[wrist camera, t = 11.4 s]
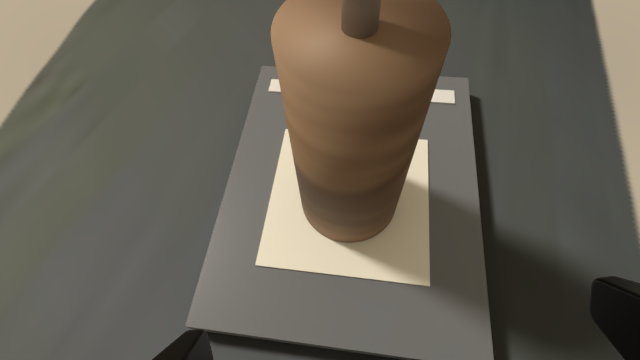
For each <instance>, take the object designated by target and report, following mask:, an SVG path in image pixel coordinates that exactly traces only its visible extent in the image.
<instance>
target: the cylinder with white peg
mask: <svg viewBox="0 0 640 360" xmlns="http://www.w3.org/2000/svg"><path fill="white" fill-rule="evenodd" d="M271 41H272V46H273V52H274V57H275V62H276V68H277V73H278V79H279V84H280V89H281V95H282V100H283V106H284V111H285V116H286V122H287V127H288V133H289V138H290V143H291V149H292V154H293V160H294V165H295V170H296V176H297V181H298V187H299V192H300V197H301V203H302V208H303V211H304V214H305V216H306V218H307V220H308V222H309V223H310V224H311V225H312V227H313V228H314V229H315V230H316V231H318V232H319V233H320V234H322V235H324V236H325V237H327V238H330V239H332V240H335V241H339V242H347V243H354V242H361V241H364V240H368V239H370V238H373V237H374V236H376V235H378V234H379V233H380V232H382V231H383V230H384V229H385V228H386V227H387V226H388V224H389V223H390V222H391V220H392V218H393V216H394V213H395V210H396V207H397V204H398V201H399V198H400V195H401V192H402V189H403V186H404V183H405V179H406V176H407V173H408V170H409V167H410V164H411V161H412V158H413V155H414V152H415V149H416V146H417V143H418V140H419V137H420V134H421V131H422V128H423V124H424V121H425V118H426V115H427V112H428V109H429V106H430V103H431V100H432V97H433V94H434V91H435V88H436V85H437V82H438V79H439V76H440V73H441V69H442V66H443V63H444V60H445V57H446V54H447V51H448V48H449V45H450V41H451V27H450V23H449V19H448V17H447V15H446V13H445V12H444V10H443V9H442V7H441V6H440V5H439V4H438V3H437V2H436V1H435V0H286V1H285V2H284V3H283V4H282V6H281V7H280V8H279V10H278V11H277V13H276V15H275V17H274V19H273V22H272V26H271Z"/></svg>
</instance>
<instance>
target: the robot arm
mask: <svg viewBox="0 0 640 360" xmlns="http://www.w3.org/2000/svg"><path fill="white" fill-rule="evenodd" d="M590 314H591V317H592V319H593V320H594V322H595V323H596V324H597V326H598V327H599V328H600V329H601V331H602V332H603V333H604V334H605V336H606V337H607V338H608V339H609V341H610V342H611V343H612V344H613V346H614V347H615V348H616V349H617V351H618V352H619V353H620V354H621V356H622V357H623V358H624V360H640V283H638V282H634V281H630V280H626V279H623V278H619V277H615V276H610V277H602V278H596V279H595V280H594V281H593V282H592V287H591V298H590ZM152 360H213V355H212V351H211V346H210V342H209V337H208V334H207V331H206V330H205V329H195V330H188V331H186V332H185V333H183V334H182V335H181V336H180V337H179V338H177V339H176V340H175V341H174V342H173V343H171V344H170V345H169V346H168V347H167V348H165V349H164V350H163V351H162V352H161V353H159V354H158V355H157V356H156V357H155V358H153V359H152Z"/></svg>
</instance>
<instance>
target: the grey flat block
mask: <svg viewBox="0 0 640 360" xmlns="http://www.w3.org/2000/svg"><path fill="white" fill-rule="evenodd" d="M185 326H186V327H188V328H191V329H194V330H195V329H205V330H206V331H207V332H213V333H220V334H227V335H234V336H241V337H248V338H255V339H262V340H269V341H277V342H284V343H291V344H298V345H305V346H312V347H319V348H326V349H333V350H340V351H347V352H354V353H361V354H368V355H375V356H382V357H389V358H396V359H403V360H494V357H493V346H492V335H491V324H490V313H489V303H488V292H487V281H486V270H485V259H484V248H483V237H482V226H481V215H480V205H479V194H478V183H477V172H476V161H475V150H474V139H473V128H472V117H471V106H470V96H469V85H468V78H458V77H441V76H439V79H438V82H437V85H436V88H435V91H434V94H433V97H432V100H431V103H430V106H429V109H428V112H427V115H426V118H425V121H424V124H423V128H422V131H421V134H420V137H419V140H418V143H417V146H416V149H415V152H414V155H413V158H412V161H411V164H410V167H409V170H408V173H407V176H406V179H405V183H404V186H403V189H402V192H401V195H400V198H399V201H398V204H397V207H396V210H395V213H394V216H393V218H392V220H391V222H390V223H389V224H388V226H387V227H386V228H385V229H384V230H383V231H382V232H380V233H379V234H378V235H376V236H374V237H373V238H370V239H368V240H364V241H361V242H354V243H347V242H339V241H335V240H332V239H330V238H327V237H325V236H324V235H322V234H320V233H319V232H318V231H316V230H315V229H314V228H313V227H312V225H311V224H310V223H309V222H308V220H307V218H306V216H305V214H304V211H303V208H302V203H301V197H300V192H299V187H298V181H297V176H296V170H295V165H294V160H293V154H292V149H291V143H290V138H289V133H288V127H287V122H286V116H285V111H284V106H283V100H282V95H281V89H280V84H279V79H278V73H277V68H276V67H272V66H262V67H261V71H260V74H259V77H258V81H257V84H256V87H255V91H254V94H253V98H252V101H251V104H250V108H249V111H248V115H247V118H246V121H245V125H244V128H243V132H242V135H241V138H240V142H239V145H238V149H237V152H236V155H235V159H234V162H233V166H232V169H231V172H230V176H229V179H228V183H227V186H226V189H225V193H224V196H223V199H222V203H221V206H220V210H219V213H218V216H217V220H216V223H215V227H214V230H213V233H212V237H211V240H210V244H209V247H208V250H207V254H206V257H205V261H204V264H203V267H202V271H201V274H200V278H199V281H198V284H197V288H196V291H195V295H194V298H193V301H192V305H191V308H190V311H189V315H188V318H187V322H186V325H185Z"/></svg>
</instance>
